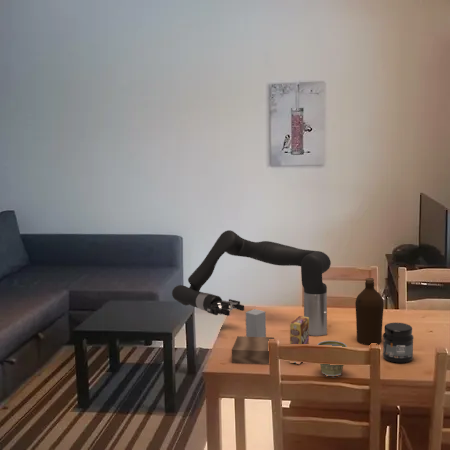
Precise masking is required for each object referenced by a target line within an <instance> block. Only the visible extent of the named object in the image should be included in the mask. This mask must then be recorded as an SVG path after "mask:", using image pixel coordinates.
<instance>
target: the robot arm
mask: <svg viewBox="0 0 450 450" xmlns="http://www.w3.org/2000/svg"><path fill="white" fill-rule="evenodd" d="M224 254H228V255H230V256H234V257H244V258H250V259H253V260H255V261H258V262H263V263H265V264H270V265H274V266H283V267H284V266H286V267H287V266H290V267H291V266H296V267H300V274H301V277H300V278H301V284H302V287H303V317H309V336H312V337H313V336H314V337H316V336H317V337H319V336H320V337H321V336H327V334H328V308H327V307H328V299H327V298H328V297H327V296H328V293H327V292H328V287H327V286H328V285H327V284H326V283H324V282H323V274H324V273H326V272H328V270H329V269H330V268H331V264H332V262H331V259H330V257H329V256H328V254H326V253H325V252H324V251H320V250H310V249H302V248H298V247H294V246H291V245H286V244H282V243H279V242H278V243H277V242H275V241H274V242H273V241H269V240H263V241H256V242H255V241H251V240H248V239H245V238H244V237H241V236H240V235H239V234H237V233H236V232H235V231H234V230H225V231H223V232H222V233H221V234H220V235H219V237H217V240H216V241H215V242H214V244H213V245H212V247H211V248H210V251H208V253H207V255H206V256H205V258H204V259H203V261H201V263H200V264H199V266H198V267H197V268H196V269H195V270H194V271H193V272H192V273H191V274H190V275H189V277H188V278H187V281H188V283H189V287H188V286H185V285H183V284H182V285H181V284H177V285H176V286H175V287H174V288H173V289H172V292H171V296H172V298H173V299H174V300H176V301H177V302H178V303H180V304H182V305H184V306H189V305H190V306H192V307H194V308H195V309H199V310H202V311H205V312H206V313H208V314H210V315H214V316H218V315H221V316H222V315H223V316H227V317H228V316H231V315H230V314H231V313H230V311H233V310H238V311H242V312H243V311H245V305H244V304H241V301H239V300H235V299H232V298H231V299H230V298H229V299H228V300H223V299H222V297H221V296H219V295H216V294H213V293H210V292H202V291H201V288H202V287H203V286H204V285H205V284H206V283H207V281H208V280H209V279H210V278H211V276H212V275H213V273H214V272H215V271H214V270H215V268H216V266H217V264H218V261H219V259H220V258H221V257H222V256H223V255H224Z"/></svg>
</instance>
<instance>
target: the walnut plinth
mask: <svg viewBox="0 0 450 450" xmlns="http://www.w3.org/2000/svg"><path fill="white" fill-rule="evenodd" d="M269 339H274V340H275V337H272V336H271V337H269V336H268V337H267V336H266V337H246V336H243V335H242V336H239V335H238V336H237V337H236V339H235V342H234V344H233V346H232V349H231V363H232V364H245V365H246V364H251V365H253V364H254V365H269V364H268V363H269V351H268V341H269Z"/></svg>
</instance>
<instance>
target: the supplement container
mask: <svg viewBox="0 0 450 450" xmlns="http://www.w3.org/2000/svg"><path fill="white" fill-rule="evenodd" d="M382 339H383V341H382V342H383V343H382V344H383V345H382V347H383V348H382V350H383V351H382V357H383V359H385V360H386V361H387V362H390V361H391V363H394V362H396V363H395V364H405V362H406V363H409V362H411V361H412V360H413V359H414V335H413V326H411V325H410V324H407V323H404V322H389V323H386V324H385V325H384V332H383V333H382Z"/></svg>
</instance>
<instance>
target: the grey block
mask: <svg viewBox="0 0 450 450" xmlns="http://www.w3.org/2000/svg"><path fill="white" fill-rule="evenodd" d="M266 321H267V320H266V311H264V310H261V309H256V308H254V309H251V310H248V311H245V333H246V335H245V337H267V327H266V325H267V322H266Z"/></svg>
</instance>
